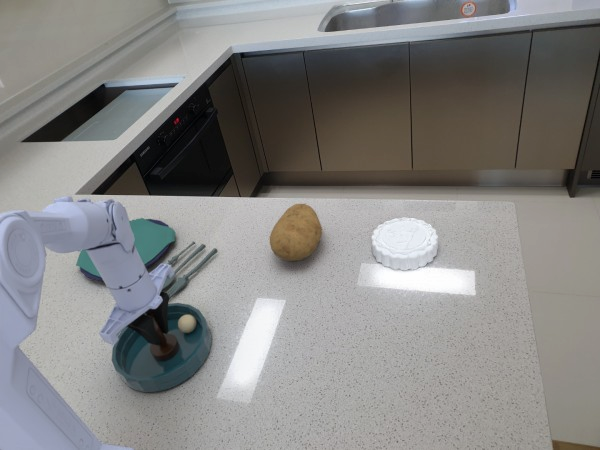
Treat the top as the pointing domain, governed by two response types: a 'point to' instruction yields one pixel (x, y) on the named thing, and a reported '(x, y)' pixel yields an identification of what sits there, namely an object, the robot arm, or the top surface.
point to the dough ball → (187, 323)
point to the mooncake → (404, 243)
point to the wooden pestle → (163, 344)
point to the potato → (296, 233)
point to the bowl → (162, 374)
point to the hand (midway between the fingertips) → (158, 336)
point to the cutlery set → (150, 251)
